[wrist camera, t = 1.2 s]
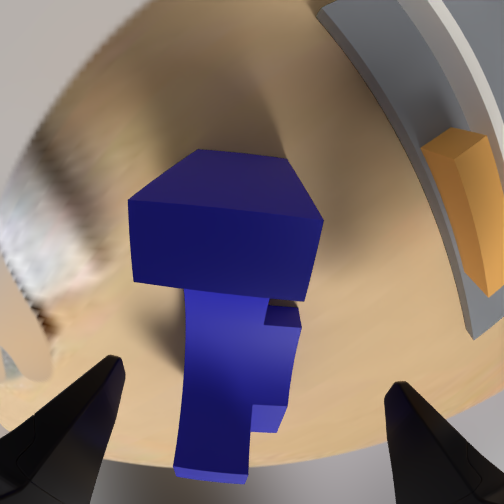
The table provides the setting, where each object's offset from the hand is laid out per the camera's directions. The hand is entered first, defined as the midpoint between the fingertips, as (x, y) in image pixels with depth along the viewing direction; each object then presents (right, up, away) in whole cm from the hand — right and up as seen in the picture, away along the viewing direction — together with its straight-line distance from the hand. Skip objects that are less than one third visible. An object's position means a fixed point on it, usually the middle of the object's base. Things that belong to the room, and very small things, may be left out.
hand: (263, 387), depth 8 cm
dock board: (+16, +12, -1) cm, 20 cm away
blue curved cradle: (-1, +2, +4) cm, 5 cm away
